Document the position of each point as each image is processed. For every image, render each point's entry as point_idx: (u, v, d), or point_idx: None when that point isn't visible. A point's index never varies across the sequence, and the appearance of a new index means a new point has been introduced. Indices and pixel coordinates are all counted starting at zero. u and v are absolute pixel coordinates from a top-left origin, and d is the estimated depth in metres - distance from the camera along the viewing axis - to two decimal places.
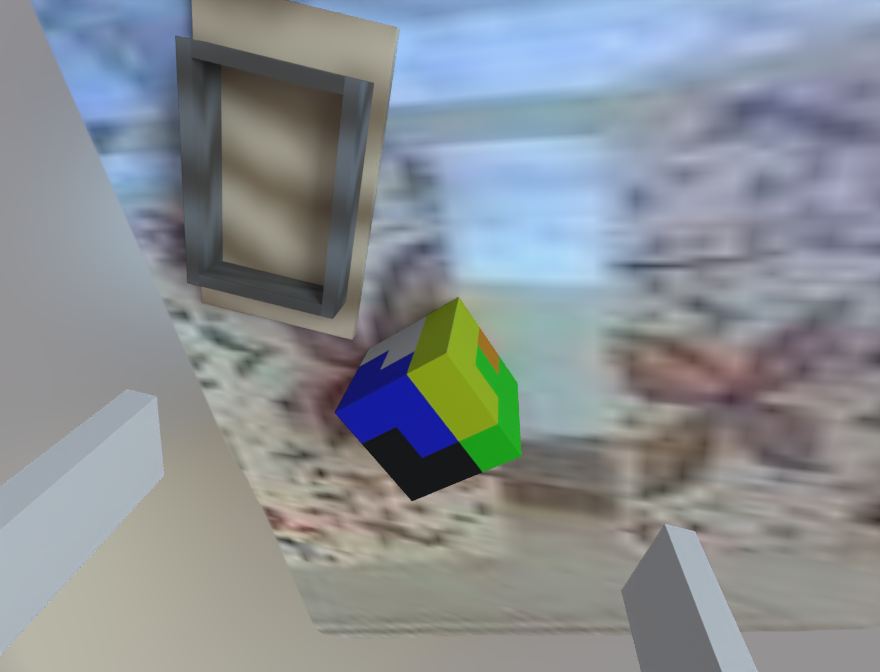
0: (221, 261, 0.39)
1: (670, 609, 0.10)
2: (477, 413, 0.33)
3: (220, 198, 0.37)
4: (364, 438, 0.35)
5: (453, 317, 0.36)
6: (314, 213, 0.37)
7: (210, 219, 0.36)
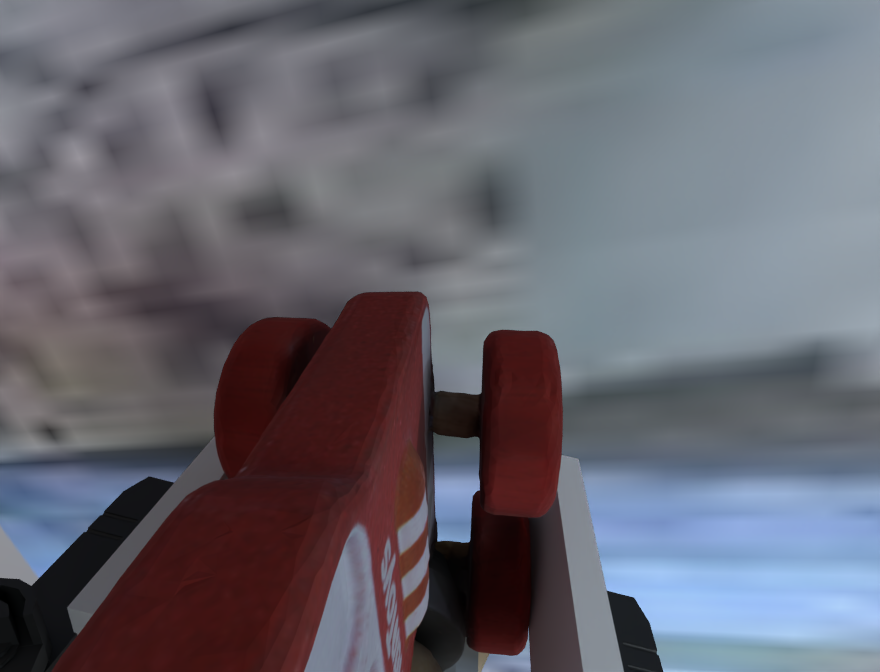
0: None
1: (547, 521, 0.12)
2: None
3: None
4: None
5: None
6: None
7: None
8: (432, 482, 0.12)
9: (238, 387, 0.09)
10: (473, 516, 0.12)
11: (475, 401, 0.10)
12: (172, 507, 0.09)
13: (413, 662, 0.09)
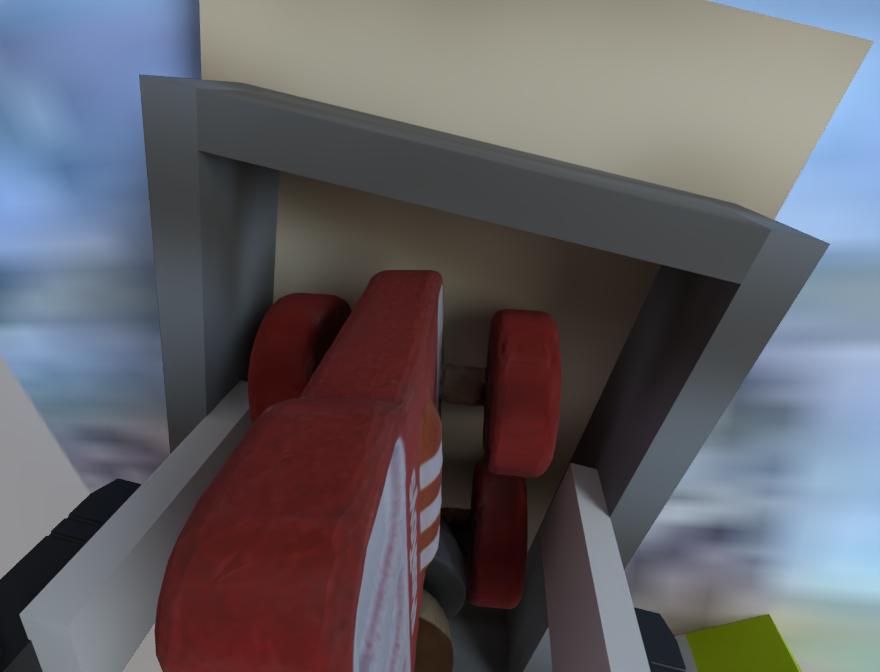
0: None
1: (567, 533, 0.11)
2: None
3: None
4: None
5: None
6: None
7: None
8: None
9: (271, 351, 0.10)
10: (475, 482, 0.13)
11: (482, 372, 0.11)
12: (137, 510, 0.09)
13: (421, 604, 0.11)
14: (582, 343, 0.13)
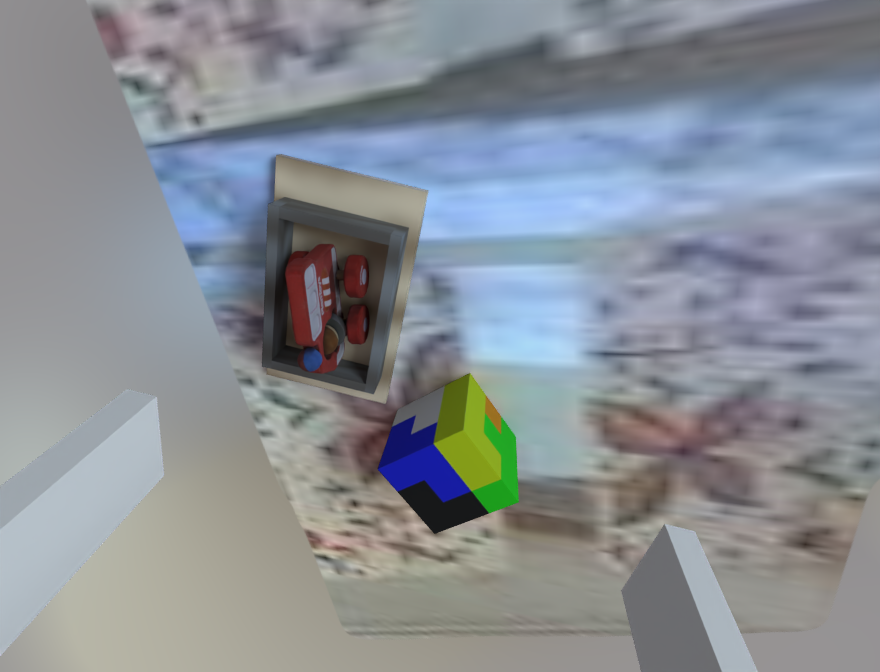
0: (285, 345, 0.50)
1: (670, 609, 0.10)
2: (485, 471, 0.44)
3: (287, 302, 0.48)
4: (399, 487, 0.46)
5: (466, 394, 0.47)
6: None
7: (280, 319, 0.47)
8: (339, 296, 0.45)
9: None
10: (350, 307, 0.45)
11: None
12: None
13: (329, 326, 0.43)
14: (380, 266, 0.45)
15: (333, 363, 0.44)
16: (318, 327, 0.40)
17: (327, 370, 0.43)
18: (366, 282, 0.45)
